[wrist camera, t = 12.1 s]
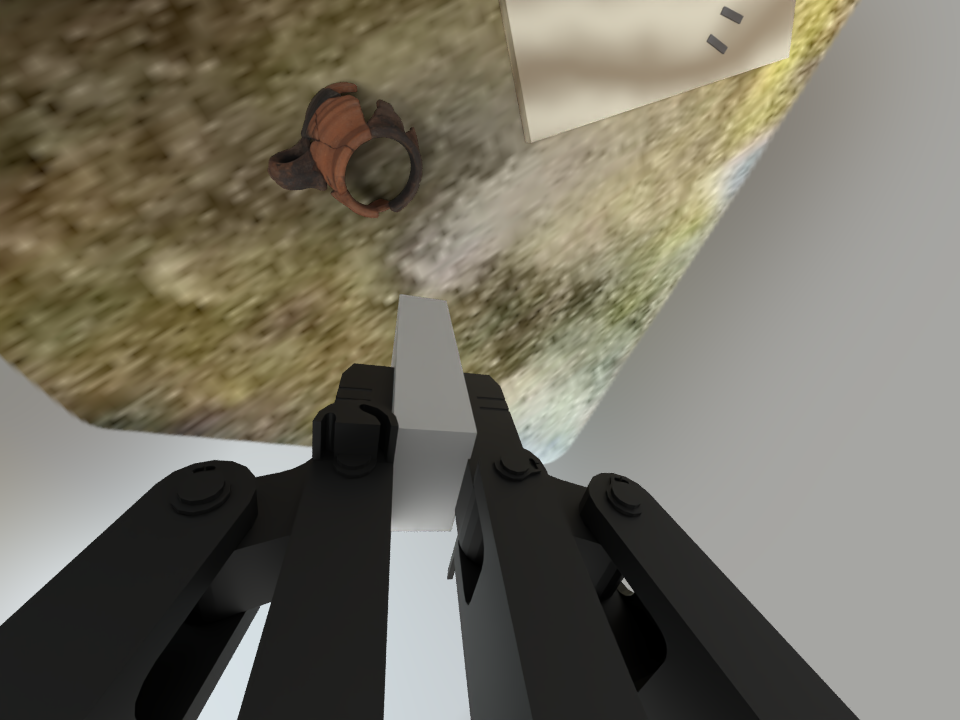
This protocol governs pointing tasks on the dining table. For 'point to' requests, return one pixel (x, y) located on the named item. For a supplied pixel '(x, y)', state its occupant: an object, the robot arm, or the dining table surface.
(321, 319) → the dining table surface
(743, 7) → the dial board
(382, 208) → the pottery mug
